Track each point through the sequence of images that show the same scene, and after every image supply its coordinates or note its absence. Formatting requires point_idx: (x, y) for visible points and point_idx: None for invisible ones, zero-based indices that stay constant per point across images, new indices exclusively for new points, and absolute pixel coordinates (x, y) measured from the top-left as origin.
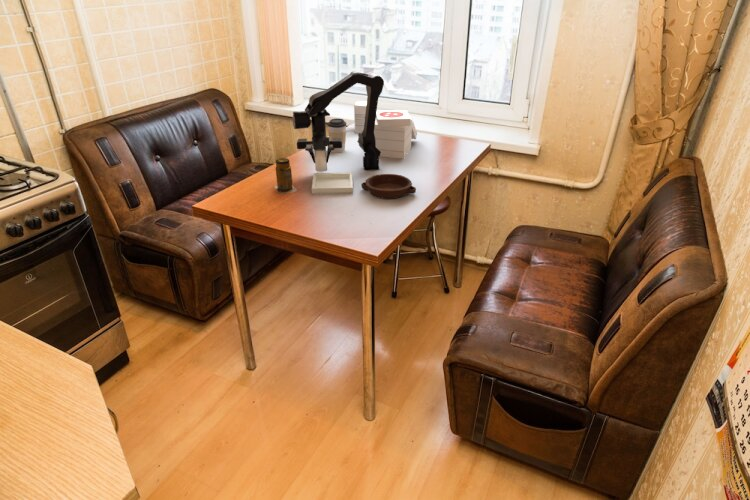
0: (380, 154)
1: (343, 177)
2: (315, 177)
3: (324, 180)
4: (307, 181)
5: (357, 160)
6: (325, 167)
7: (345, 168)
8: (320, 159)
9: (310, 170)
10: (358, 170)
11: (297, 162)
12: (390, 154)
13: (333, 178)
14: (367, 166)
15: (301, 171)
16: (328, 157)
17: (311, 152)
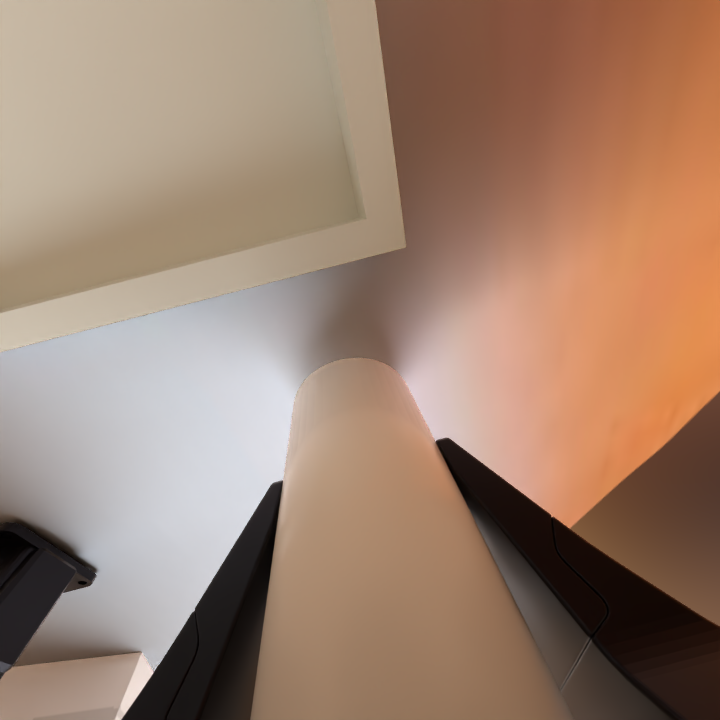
0: (87, 673)
1: (27, 303)
2: (333, 29)
3: (224, 155)
4: (451, 138)
5: (191, 600)
6: (294, 417)
7: (197, 505)
8: (351, 486)
9: (452, 419)
10: (67, 502)
11: (543, 500)
12: (8, 692)
13: (142, 256)
14: None
15: (520, 388)
16: (223, 575)
17: (648, 644)
